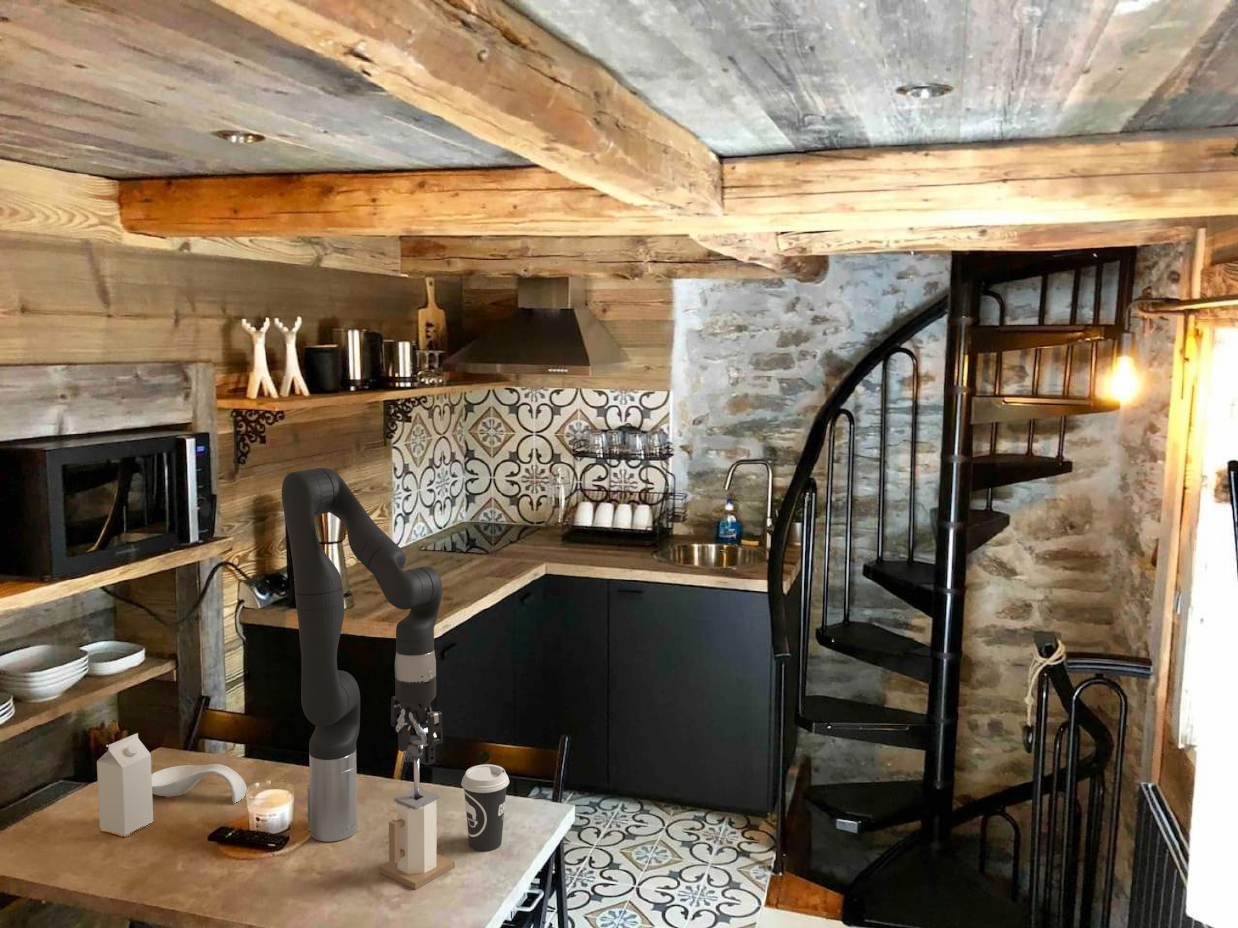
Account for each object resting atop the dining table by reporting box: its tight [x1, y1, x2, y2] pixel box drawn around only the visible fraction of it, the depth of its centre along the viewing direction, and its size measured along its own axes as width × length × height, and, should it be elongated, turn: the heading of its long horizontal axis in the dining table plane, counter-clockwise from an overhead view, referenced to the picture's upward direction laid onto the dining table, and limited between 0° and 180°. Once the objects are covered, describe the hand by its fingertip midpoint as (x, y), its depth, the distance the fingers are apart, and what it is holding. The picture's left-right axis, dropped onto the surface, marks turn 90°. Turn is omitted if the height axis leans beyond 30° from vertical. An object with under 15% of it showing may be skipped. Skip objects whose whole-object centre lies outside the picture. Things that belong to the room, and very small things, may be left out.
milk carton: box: [96, 732, 154, 835], centre depth 204 cm, size 7×7×19 cm
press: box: [379, 787, 456, 890], centre depth 188 cm, size 10×11×15 cm
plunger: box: [406, 739, 424, 800], centre depth 187 cm, size 5×5×14 cm
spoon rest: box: [151, 763, 248, 804], centre depth 220 cm, size 24×12×7 cm, turn 77°
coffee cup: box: [460, 763, 510, 852], centre depth 199 cm, size 10×10×15 cm
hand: (416, 756), depth 187 cm, fingers open, 8 cm apart
